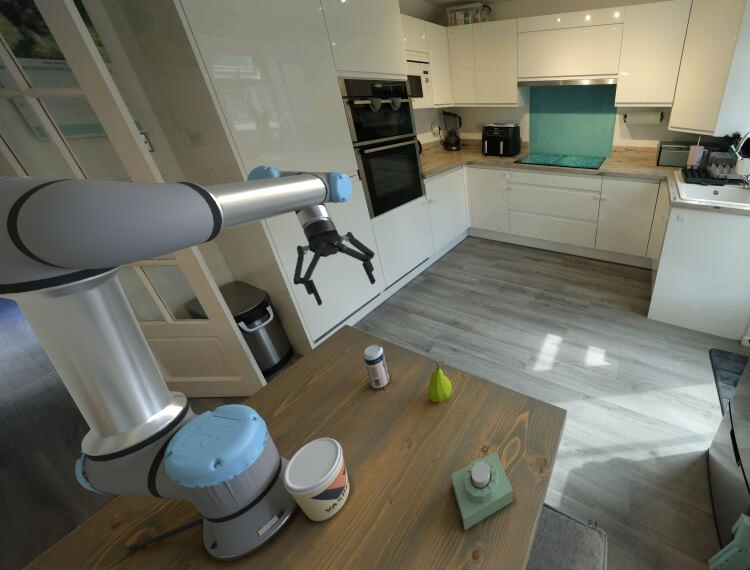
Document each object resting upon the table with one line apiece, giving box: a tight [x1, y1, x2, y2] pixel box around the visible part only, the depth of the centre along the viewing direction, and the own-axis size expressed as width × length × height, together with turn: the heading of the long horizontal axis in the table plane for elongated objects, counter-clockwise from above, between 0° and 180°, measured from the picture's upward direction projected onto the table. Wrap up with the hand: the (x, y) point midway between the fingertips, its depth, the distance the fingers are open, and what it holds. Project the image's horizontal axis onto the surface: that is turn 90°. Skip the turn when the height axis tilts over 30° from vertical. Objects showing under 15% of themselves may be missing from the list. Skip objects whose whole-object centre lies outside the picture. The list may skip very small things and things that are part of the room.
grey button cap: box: [471, 462, 490, 488], centre depth 60 cm, size 4×4×2 cm
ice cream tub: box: [284, 437, 350, 522], centre depth 60 cm, size 9×9×12 cm
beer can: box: [363, 344, 390, 389], centre depth 84 cm, size 5×5×12 cm
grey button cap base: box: [450, 451, 514, 531], centre depth 62 cm, size 10×8×6 cm
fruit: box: [426, 361, 453, 403], centre depth 80 cm, size 6×6×12 cm
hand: (348, 292), depth 83 cm, fingers open, 13 cm apart
